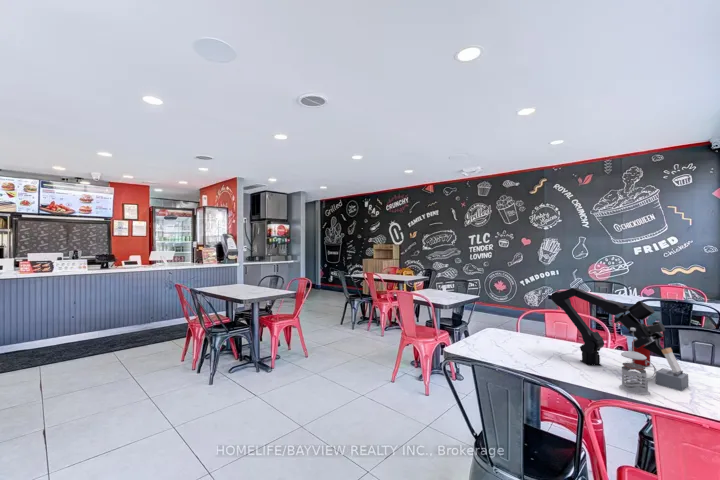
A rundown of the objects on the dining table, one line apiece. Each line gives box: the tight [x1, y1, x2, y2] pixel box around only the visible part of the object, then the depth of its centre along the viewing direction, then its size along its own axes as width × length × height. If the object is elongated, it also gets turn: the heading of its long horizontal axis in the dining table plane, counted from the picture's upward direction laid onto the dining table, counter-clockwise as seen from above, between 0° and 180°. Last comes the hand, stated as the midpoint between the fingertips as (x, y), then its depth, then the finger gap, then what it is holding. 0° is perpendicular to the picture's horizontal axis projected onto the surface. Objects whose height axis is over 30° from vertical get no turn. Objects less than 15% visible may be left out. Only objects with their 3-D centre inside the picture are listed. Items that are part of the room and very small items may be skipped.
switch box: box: [654, 367, 690, 392], centre depth 134 cm, size 8×9×6 cm
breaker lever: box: [661, 347, 683, 374], centre depth 134 cm, size 2×5×10 cm, turn 122°
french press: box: [618, 328, 657, 396], centre depth 129 cm, size 10×12×25 cm
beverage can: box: [631, 338, 651, 367], centre depth 159 cm, size 7×7×12 cm
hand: (666, 357), depth 136 cm, fingers closed, pressing on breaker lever
